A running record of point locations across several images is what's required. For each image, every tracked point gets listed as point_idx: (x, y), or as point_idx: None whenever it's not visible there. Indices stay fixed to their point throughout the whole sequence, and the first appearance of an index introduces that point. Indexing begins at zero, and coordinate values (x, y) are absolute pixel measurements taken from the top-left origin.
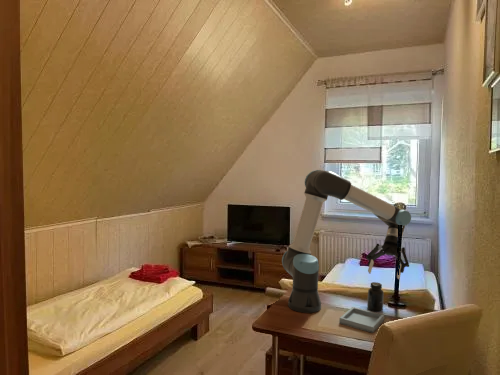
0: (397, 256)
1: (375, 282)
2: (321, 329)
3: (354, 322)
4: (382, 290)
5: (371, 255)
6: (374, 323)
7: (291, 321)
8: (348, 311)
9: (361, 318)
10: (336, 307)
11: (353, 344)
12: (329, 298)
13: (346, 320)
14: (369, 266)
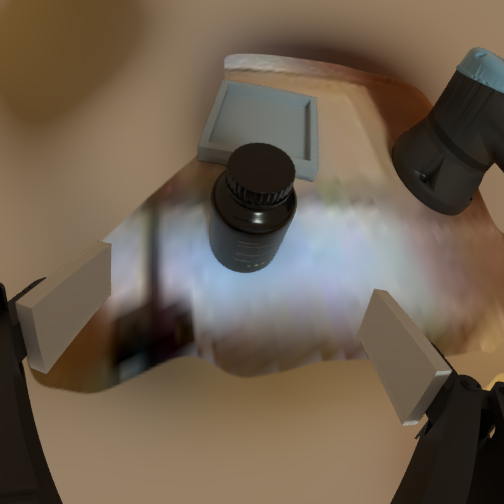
0: (8, 434)
1: (272, 188)
2: (330, 84)
3: (274, 89)
4: (219, 197)
5: (487, 447)
6: (222, 93)
7: (394, 102)
8: (314, 133)
9: (268, 133)
10: (371, 199)
11: (252, 57)
12: (425, 271)
13: (296, 94)
14: (403, 313)
